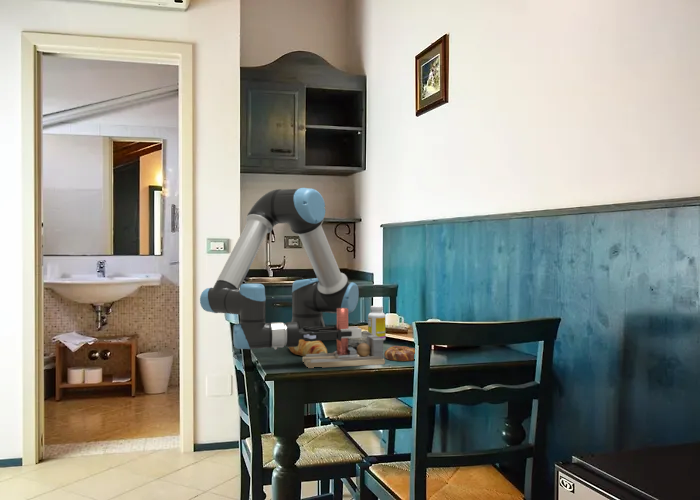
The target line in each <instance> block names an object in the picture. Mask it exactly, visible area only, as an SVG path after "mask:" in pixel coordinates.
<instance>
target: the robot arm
mask: <svg viewBox="0 0 700 500" xmlns="http://www.w3.org/2000/svg"><path fill="white" fill-rule="evenodd" d="M325 202H326V201H325V199H324V197H323V196H322V194H321V193H320V192H319V191H318V190H316V189H315V188H311V187H310V188H307V187H300V188H287V189H286V188H285V189H283V188H281V189H280V188H279V189H273V190H272V189H271V190H270V191H268V192H266V193H265V194H263V195H262V196H261V197H259V199H257V201H256V202H255V203H253V206H252V207H251V209H250V210H249V212H248V213H247V215H246V217H245V222H246V223H245V226H244V228H243V230H242V232H241V233H240V235H239V238H238V239H237V241H236V243H235V244H234V247H233V249H232V251H231V252H230V254H229V256H228V258H227V260H226V262H225V264H224V266H223V268H222V270H221V272H220V274H219V275H218V277H217V279H216V282H215V283H214V285H213V287H207V288H205V289H204V290H203V291H202V292H201V294H200V296H199V297H200V298H199V303H200V304H199V305H200V306H201V309H203V311H205V312H209V313H214V314H230V315H239V323H237V324H236V323H235V324H234V325H233V327H232V328H233V334H232V335H233V336H232V337H233V339H232V340H233V346H234V348H235V349H237V350H257V349H269V348H270V349H272V348H273V350H277V349H278V348H284V347H287V348H289V347H297V346H298V345H299V340H300V339H302V340H305V341H311V342H312V341H335V340H336V341H337V340H339V341H341V338H348V339H350V338H360V337H362V331H363V329H362V328H359V327H358V325H357V326H355V325H354V326H348V329H341V330H337V324H334V325H331V326H330V325H329V326H326V325H325V321H324V319H323V313H329V314H337V308H348V315H349V314H351V313H353V312H354V311H355V309H356V308H357V305H358V302H359V295H360V294H359V293H360V292H359V286H358V284H356V283H355V282H353V281H352V282H349V279H348V276H347V274H345V273H343V272H341V271H340V267H339V266H338V263H337V260H336V258H335V255H334V253H333V251H332V248H331V246H330V243H329V241H328V238H327V236H326V234H325V231H324V229H323V226H322V224H323V223H324V218H325V216H326V204H325ZM278 224H287V225H289V228H290V230H291V232H292V233H293V234H295V235H298V238H299V239H300V241H301V243H302V246H303V248H304V250H305V251H304V252H305V253H306V255H307V257H308V261H309V262H310V264H311V268H312V269H313V271H314V273H315V277H316V278H315V277H314V278H307V279H296V280H294V281H293V283H292V290H291V295H292V296H291V299H292V301H291V303H292V304H291V307H292V310H291V311H292V318H291V321H288V322H287V321H286V322H285V323H284V322H281V321H279V322H278V321H277V322H266V298H267V297H266V288H265V286H264V284H262V283H243V282H244V280H245V278H246V276H247V274H248V272H249V270H250V268H251V266H252V264H253V262H254V260H255V258H256V256H257V255H258V252H259V250H260V248H261V246H262V245H263V242H264V240H265V238H266V236H267V234H269V233H271V232H272V231H273V228H274V227H276V225H278Z"/></svg>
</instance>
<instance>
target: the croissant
mask: <svg viewBox="0 0 700 500" xmlns="http://www.w3.org/2000/svg"><path fill="white" fill-rule="evenodd" d="M322 341H323V340H321V341H312V342H311V341H305V340H302V339H300V340H299V345H298V346H297V347H288V349H289V351H290V352H291V353H293V354H294V355H297V356H301V357H306V354H323V353H328V349H327V347H326V346H325V344H324V343H323V342H322Z"/></svg>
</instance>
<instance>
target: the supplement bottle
mask: <svg viewBox="0 0 700 500" xmlns="http://www.w3.org/2000/svg"><path fill="white" fill-rule="evenodd" d="M383 310H384V306H383V305H371V306H370V312H369V313H368V315H367V327H368V328H367V331H368V332H370V333H371V334H373V335H376V336H378V337H380V338H382V339H383V341H386V336H387V335H386V332H387V331H386V328H387V326H386V314H385V313H384V311H383Z"/></svg>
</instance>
